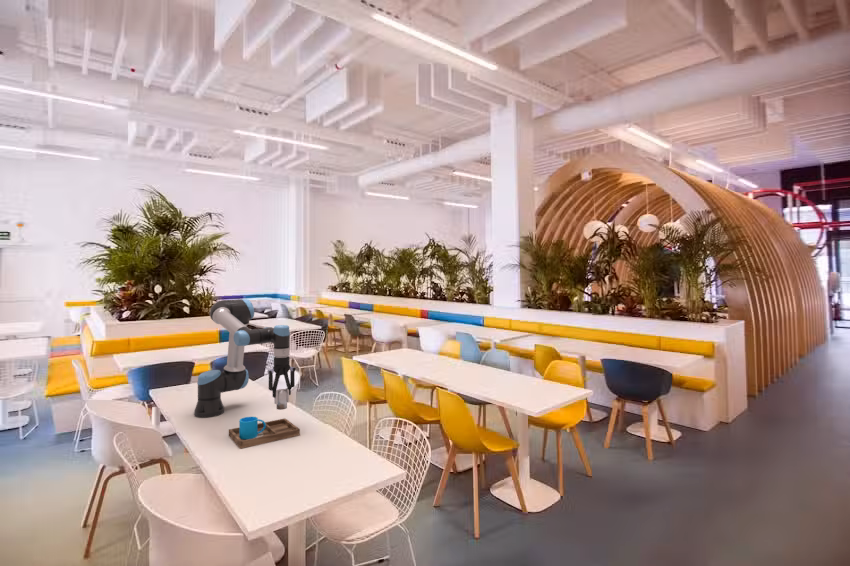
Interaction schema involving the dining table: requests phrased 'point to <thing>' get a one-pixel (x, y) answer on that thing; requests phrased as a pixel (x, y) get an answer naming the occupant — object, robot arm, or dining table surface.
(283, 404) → the clear rounded cylinder
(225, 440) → the dining table surface
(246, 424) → the mug
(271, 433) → the tray
